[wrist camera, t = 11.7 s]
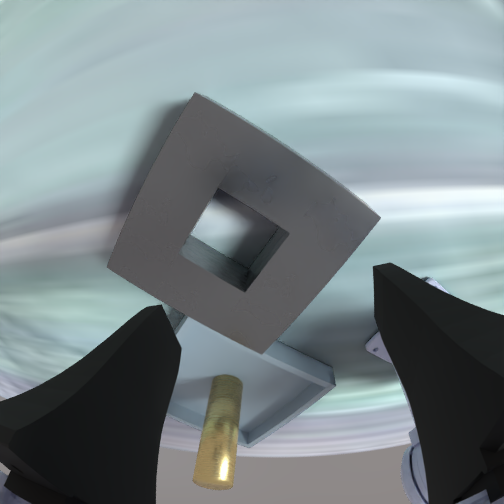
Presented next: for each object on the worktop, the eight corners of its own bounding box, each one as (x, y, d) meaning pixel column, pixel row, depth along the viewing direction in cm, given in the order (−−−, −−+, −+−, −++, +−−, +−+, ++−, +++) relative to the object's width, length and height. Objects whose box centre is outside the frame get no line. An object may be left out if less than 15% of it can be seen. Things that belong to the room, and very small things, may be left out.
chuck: (365, 203, 19) (381, 217, 16) (262, 328, 23) (261, 354, 20) (206, 96, 16) (194, 92, 14) (124, 248, 21) (106, 267, 18)
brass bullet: (239, 373, 25) (227, 477, 16) (245, 393, 26) (236, 490, 17) (208, 375, 25) (187, 475, 16) (216, 394, 26) (199, 488, 17)
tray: (332, 367, 25) (335, 385, 23) (250, 432, 30) (249, 448, 28) (196, 296, 22) (190, 314, 20) (140, 383, 27) (133, 399, 25)
